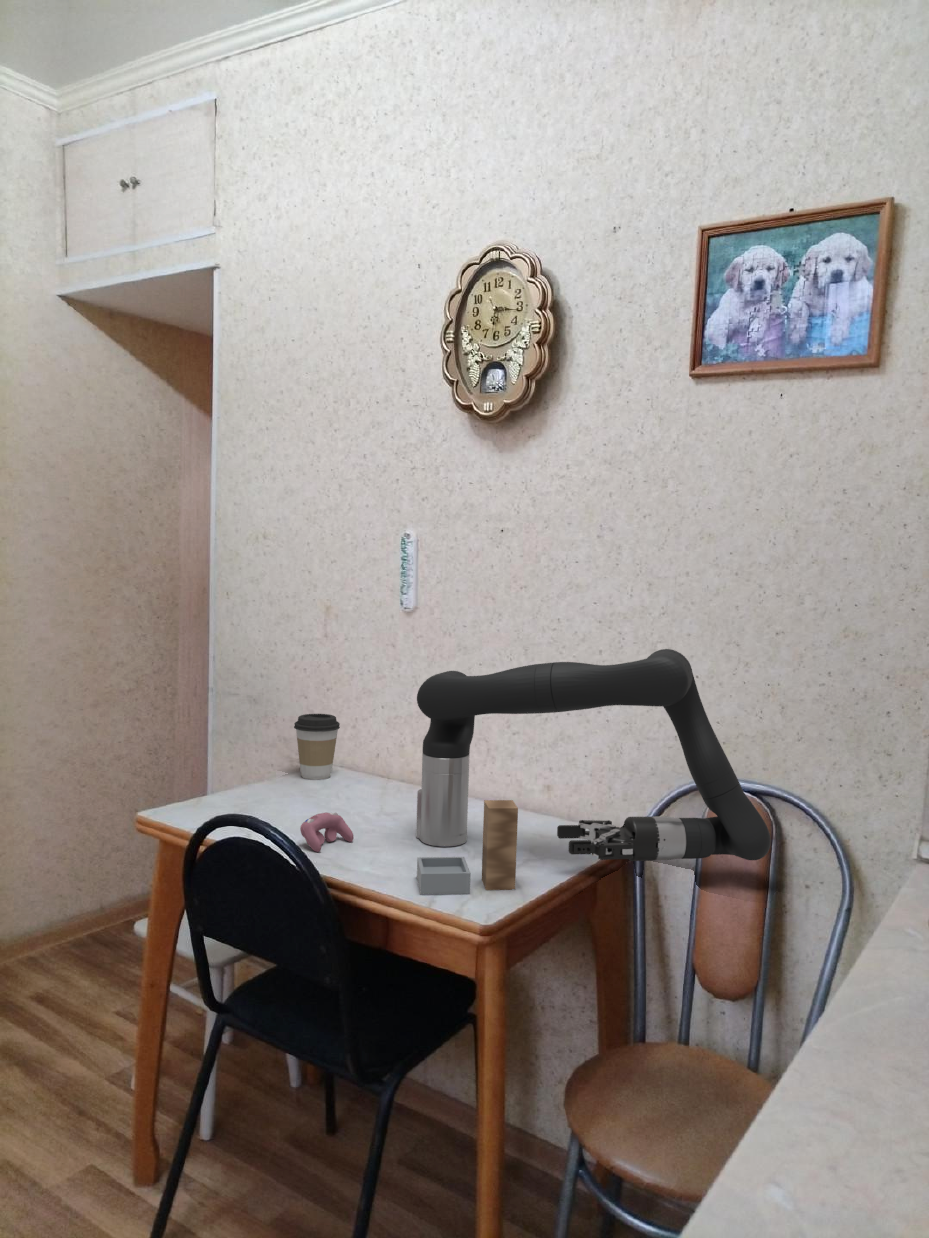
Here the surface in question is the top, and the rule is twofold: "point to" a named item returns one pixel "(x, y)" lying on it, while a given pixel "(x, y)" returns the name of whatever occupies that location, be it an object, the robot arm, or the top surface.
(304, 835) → the video game controller
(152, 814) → the top surface
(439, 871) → the grey open box
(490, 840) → the walnut pillar
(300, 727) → the coffee cup
